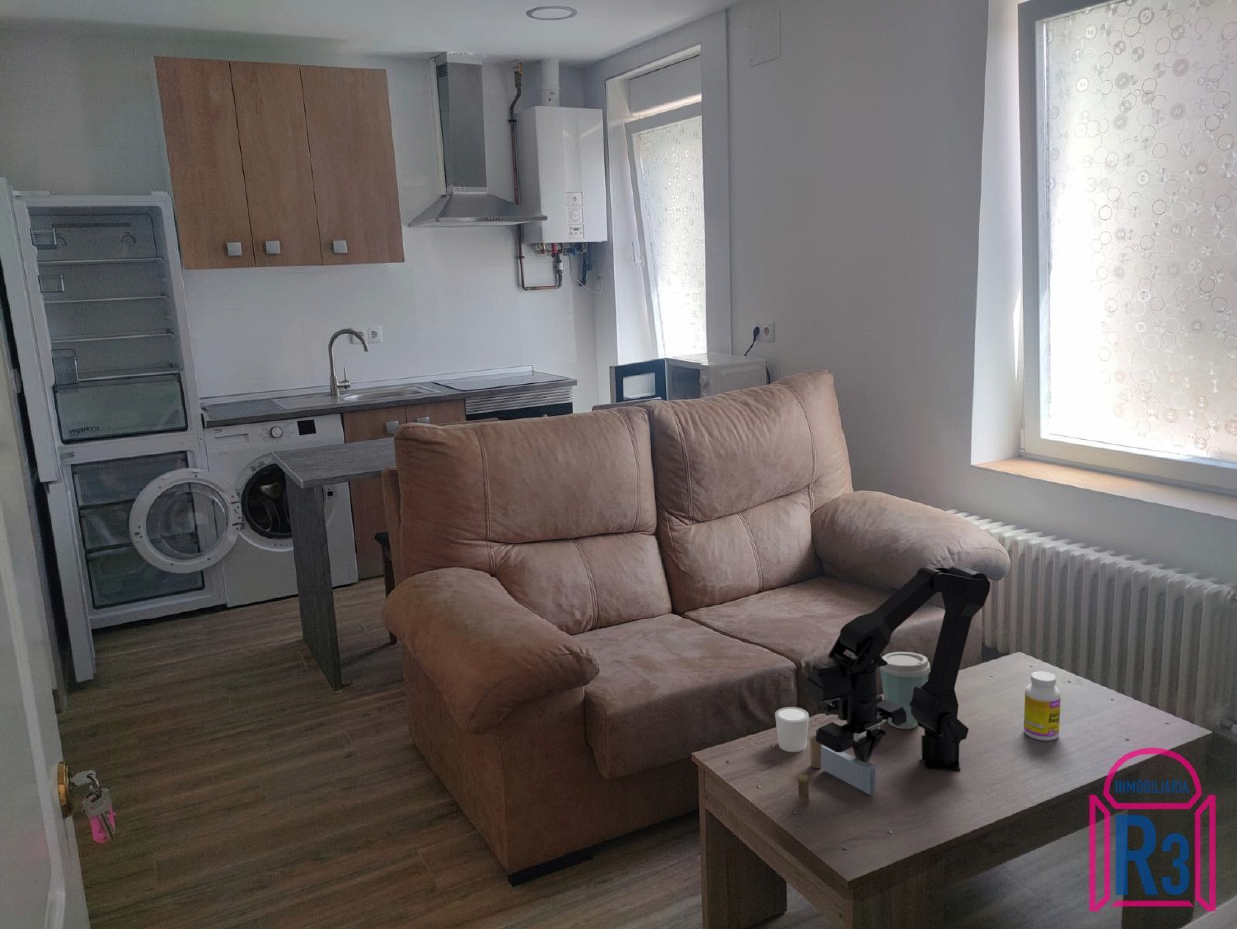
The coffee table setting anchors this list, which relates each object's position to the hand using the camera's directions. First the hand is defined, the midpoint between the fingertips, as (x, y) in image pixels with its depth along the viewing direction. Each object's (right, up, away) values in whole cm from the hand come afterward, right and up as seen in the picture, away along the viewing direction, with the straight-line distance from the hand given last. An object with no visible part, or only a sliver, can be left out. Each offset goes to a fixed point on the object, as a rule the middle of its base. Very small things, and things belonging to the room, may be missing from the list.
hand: (862, 766), depth 175 cm
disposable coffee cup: (+15, +2, +24) cm, 28 cm away
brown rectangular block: (-12, -5, -4) cm, 14 cm away
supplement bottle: (+41, +1, +15) cm, 44 cm away
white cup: (-10, -1, +16) cm, 19 cm away
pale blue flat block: (-3, -3, +2) cm, 5 cm away
